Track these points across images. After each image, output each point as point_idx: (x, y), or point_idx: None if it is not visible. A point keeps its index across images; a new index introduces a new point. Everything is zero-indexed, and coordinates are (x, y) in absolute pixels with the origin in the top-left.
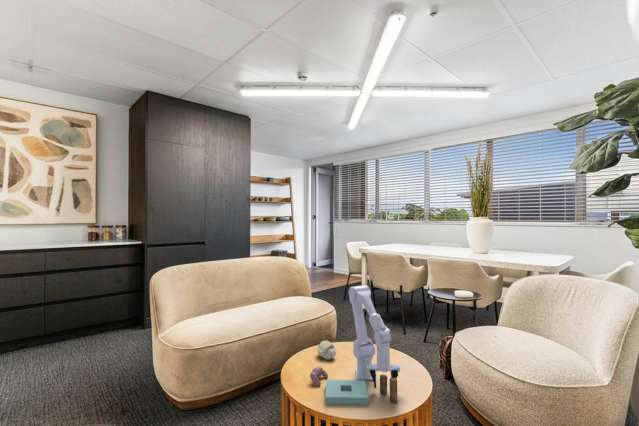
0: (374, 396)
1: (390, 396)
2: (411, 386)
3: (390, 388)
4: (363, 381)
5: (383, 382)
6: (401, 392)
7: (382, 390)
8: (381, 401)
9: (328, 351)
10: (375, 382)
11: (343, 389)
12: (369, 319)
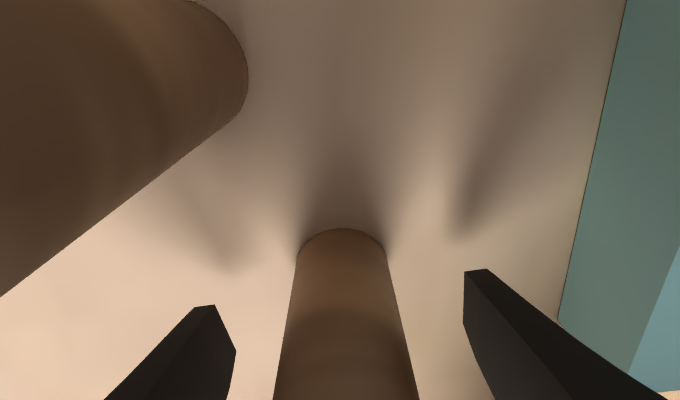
0: (477, 153)
1: (192, 30)
2: (59, 397)
3: (24, 13)
4: (649, 374)
5: (349, 373)
6: (129, 296)
7: (360, 259)
8: (384, 28)
9: None
10: (541, 348)
11: None
12: None
